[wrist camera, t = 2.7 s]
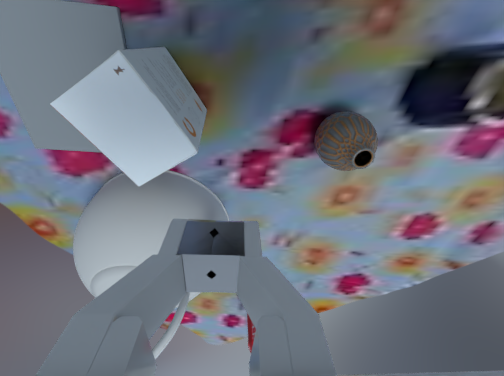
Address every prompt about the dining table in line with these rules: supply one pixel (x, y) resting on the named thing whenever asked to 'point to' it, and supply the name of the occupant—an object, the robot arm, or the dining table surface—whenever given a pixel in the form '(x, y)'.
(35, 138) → the mat
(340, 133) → the vase
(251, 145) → the dining table surface
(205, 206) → the kettle
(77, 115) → the small box
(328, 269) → the dining table surface
